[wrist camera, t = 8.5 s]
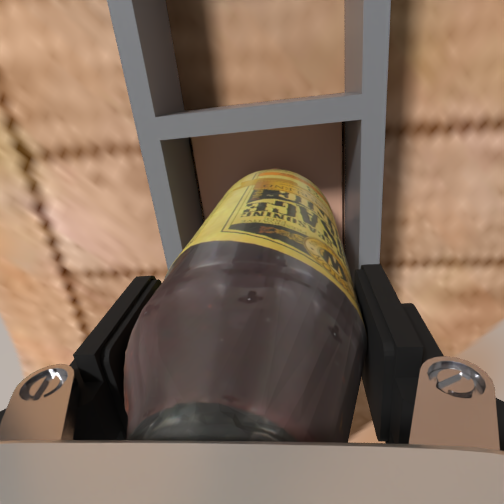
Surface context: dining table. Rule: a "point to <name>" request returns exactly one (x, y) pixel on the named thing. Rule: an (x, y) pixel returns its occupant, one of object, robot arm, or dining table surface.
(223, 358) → the sauce bottle
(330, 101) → the dock
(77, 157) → the dining table surface
